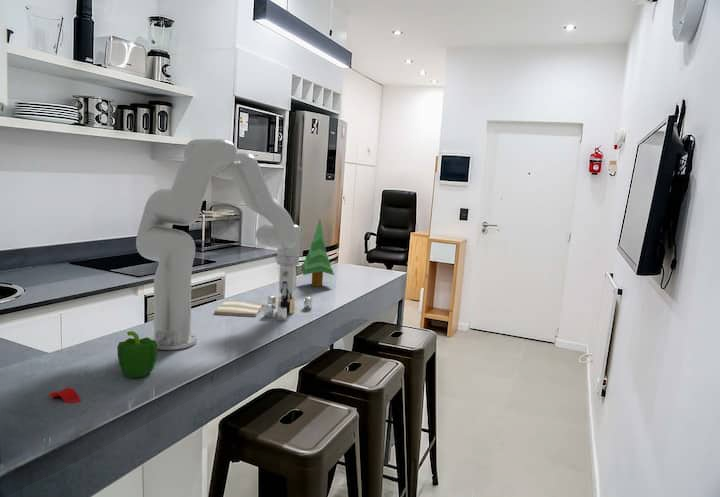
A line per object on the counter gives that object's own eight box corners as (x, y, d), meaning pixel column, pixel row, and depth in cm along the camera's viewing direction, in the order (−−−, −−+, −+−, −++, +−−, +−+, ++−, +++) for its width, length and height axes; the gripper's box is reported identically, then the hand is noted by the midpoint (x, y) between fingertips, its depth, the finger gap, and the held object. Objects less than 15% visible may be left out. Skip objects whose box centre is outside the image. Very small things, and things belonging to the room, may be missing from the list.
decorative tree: (305, 280, 231) (308, 215, 226) (338, 284, 227) (342, 217, 223) (294, 286, 218) (297, 217, 213) (328, 290, 214) (332, 219, 210)
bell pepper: (163, 374, 118) (163, 333, 117) (128, 384, 112) (127, 341, 111) (146, 364, 124) (146, 325, 122) (112, 372, 118) (111, 331, 116)
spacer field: (306, 322, 166) (307, 310, 166) (258, 319, 166) (258, 307, 166) (313, 304, 189) (313, 294, 189) (270, 302, 189) (270, 291, 188)
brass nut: (293, 314, 175) (293, 299, 174) (276, 313, 175) (277, 298, 174) (295, 310, 180) (295, 296, 179) (278, 309, 180) (279, 295, 179)
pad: (255, 316, 170) (256, 313, 170) (214, 314, 170) (214, 311, 169) (263, 305, 184) (263, 303, 183) (225, 303, 183) (225, 301, 183)
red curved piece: (44, 398, 104) (44, 388, 104) (57, 393, 107) (57, 383, 107) (72, 407, 101) (72, 396, 101) (84, 401, 104) (84, 391, 104)
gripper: (295, 264, 167) (293, 318, 169) (301, 256, 183) (299, 305, 186) (273, 263, 167) (271, 316, 169) (281, 255, 183) (279, 304, 186)
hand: (286, 310), depth 178 cm, fingers closed on brass nut, 5 cm apart
